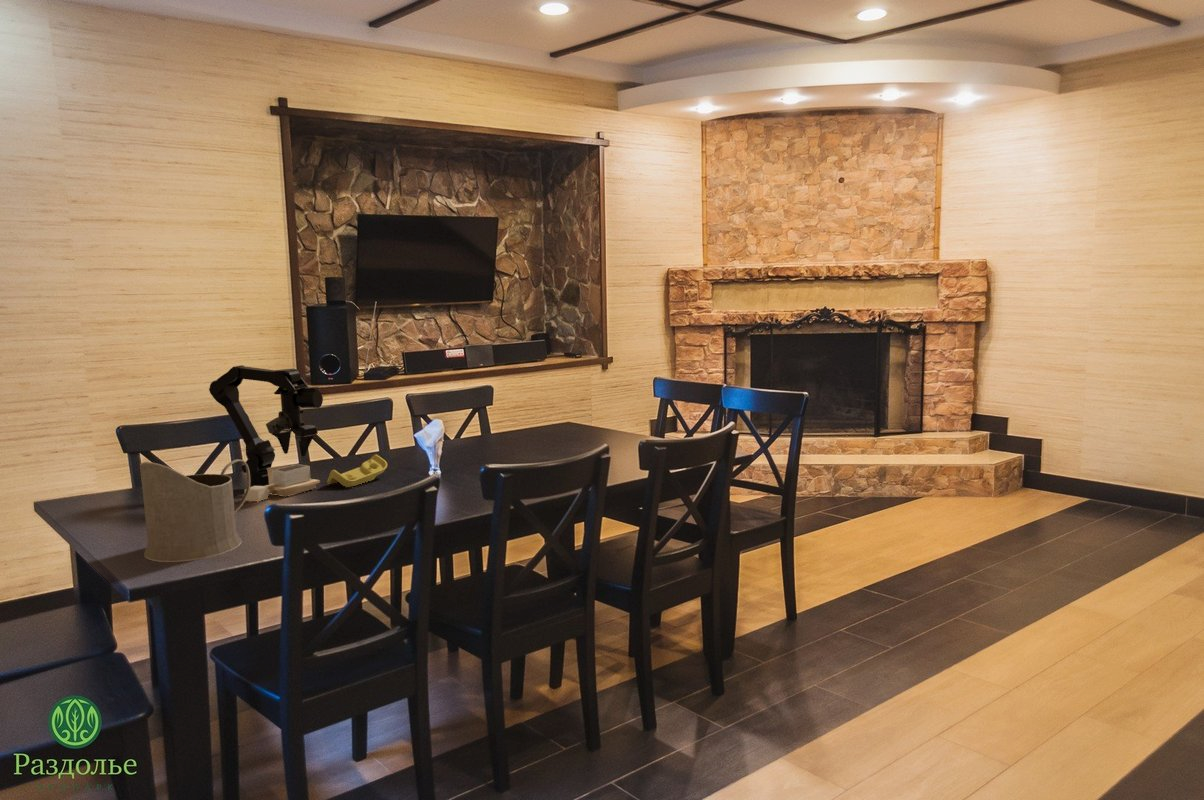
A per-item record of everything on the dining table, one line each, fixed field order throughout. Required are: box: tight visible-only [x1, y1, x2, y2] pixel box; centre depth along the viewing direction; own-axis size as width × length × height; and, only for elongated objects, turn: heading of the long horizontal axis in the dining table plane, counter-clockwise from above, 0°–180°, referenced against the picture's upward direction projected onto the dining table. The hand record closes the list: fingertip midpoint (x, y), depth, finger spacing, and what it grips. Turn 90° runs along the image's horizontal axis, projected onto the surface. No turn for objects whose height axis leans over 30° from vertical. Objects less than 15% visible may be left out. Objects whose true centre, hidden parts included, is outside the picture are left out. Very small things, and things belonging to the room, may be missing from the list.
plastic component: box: [326, 454, 388, 488], centre depth 307 cm, size 20×7×10 cm
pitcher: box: [139, 458, 250, 563], centre depth 238 cm, size 23×32×25 cm
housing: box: [271, 464, 312, 487], centre depth 293 cm, size 10×6×5 cm, turn 146°
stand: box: [266, 478, 321, 496], centre depth 294 cm, size 10×14×3 cm
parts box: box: [243, 486, 270, 500], centre depth 285 cm, size 5×5×4 cm
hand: (294, 454), depth 295 cm, fingers open, 9 cm apart
